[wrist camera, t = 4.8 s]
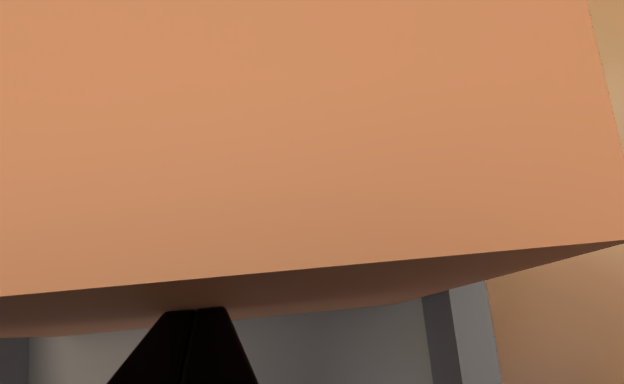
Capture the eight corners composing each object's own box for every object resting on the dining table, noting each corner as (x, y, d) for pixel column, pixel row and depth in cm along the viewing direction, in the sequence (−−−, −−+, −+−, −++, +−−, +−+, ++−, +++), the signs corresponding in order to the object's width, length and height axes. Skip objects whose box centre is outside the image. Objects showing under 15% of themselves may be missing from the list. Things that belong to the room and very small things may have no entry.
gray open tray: (454, 379, 15) (513, 395, 11) (12, 425, 14) (-95, 460, 10) (377, -145, 19) (400, -270, 15) (29, -128, 18) (-44, -256, 14)
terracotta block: (392, 304, 14) (642, 238, 4) (57, 336, 13) (-583, 348, 4) (373, 148, 15) (536, -211, 5) (59, 173, 14) (-441, -171, 4)
